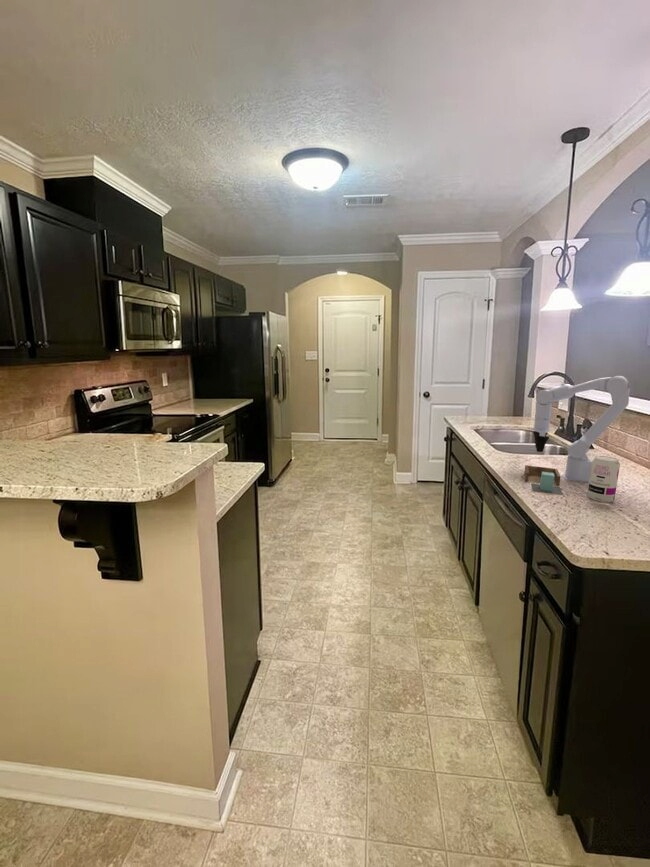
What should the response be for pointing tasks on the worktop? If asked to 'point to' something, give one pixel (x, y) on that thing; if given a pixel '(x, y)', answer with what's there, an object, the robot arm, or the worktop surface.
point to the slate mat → (537, 489)
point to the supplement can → (603, 478)
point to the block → (547, 481)
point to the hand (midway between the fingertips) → (539, 449)
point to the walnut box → (535, 474)
